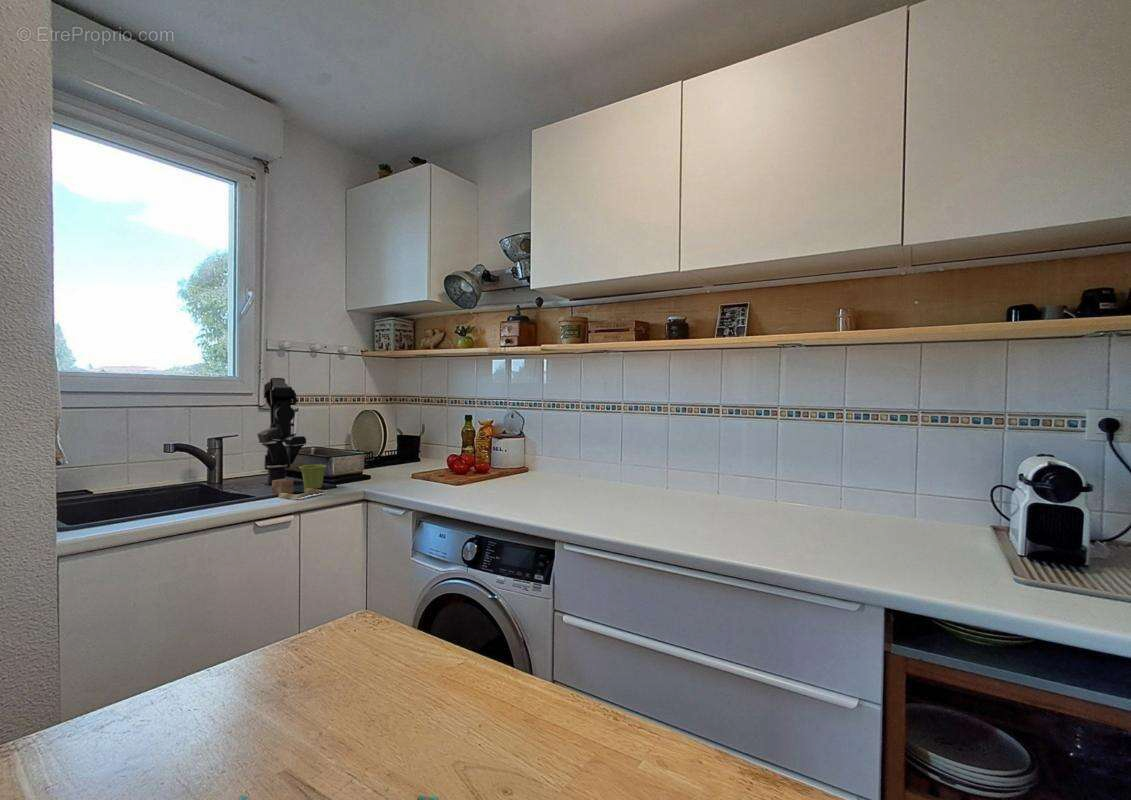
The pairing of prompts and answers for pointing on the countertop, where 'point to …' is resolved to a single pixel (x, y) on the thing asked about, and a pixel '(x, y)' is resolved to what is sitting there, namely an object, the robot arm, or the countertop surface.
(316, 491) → the oak bay
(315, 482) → the plant pot
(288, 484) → the walnut cube
